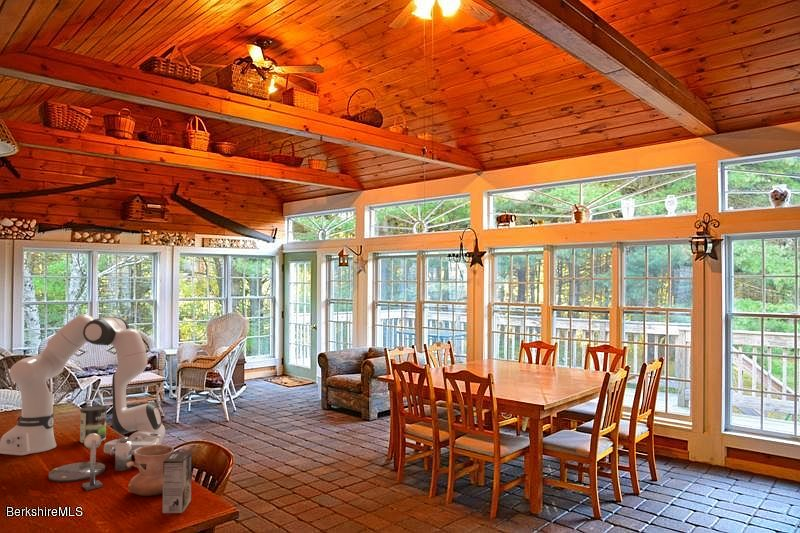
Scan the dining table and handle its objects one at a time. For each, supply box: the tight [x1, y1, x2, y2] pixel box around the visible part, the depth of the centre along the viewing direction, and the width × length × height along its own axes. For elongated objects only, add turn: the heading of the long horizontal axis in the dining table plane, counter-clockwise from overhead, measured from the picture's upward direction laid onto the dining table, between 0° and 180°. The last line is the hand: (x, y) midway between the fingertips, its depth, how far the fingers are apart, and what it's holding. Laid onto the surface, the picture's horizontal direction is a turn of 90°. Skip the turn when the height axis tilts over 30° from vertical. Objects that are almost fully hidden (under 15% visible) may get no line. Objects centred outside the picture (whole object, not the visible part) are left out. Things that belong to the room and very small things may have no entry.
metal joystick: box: [81, 433, 103, 491], centre depth 193 cm, size 5×5×18 cm
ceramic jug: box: [127, 444, 175, 497], centre depth 190 cm, size 18×14×14 cm
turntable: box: [48, 461, 106, 483], centre depth 206 cm, size 18×18×1 cm
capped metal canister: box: [114, 436, 133, 472], centre depth 212 cm, size 6×6×12 cm
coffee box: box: [161, 451, 192, 514], centre depth 177 cm, size 9×6×16 cm
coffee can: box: [79, 405, 108, 444], centre depth 248 cm, size 10×10×14 cm
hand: (122, 452), depth 211 cm, fingers open, 7 cm apart
